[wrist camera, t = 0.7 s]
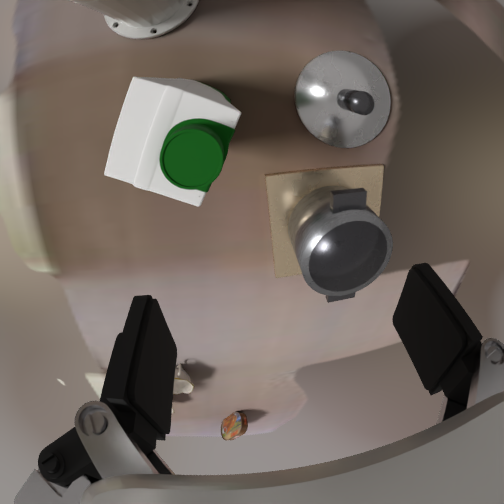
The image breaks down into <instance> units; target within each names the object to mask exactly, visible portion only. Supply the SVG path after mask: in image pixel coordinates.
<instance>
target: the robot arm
mask: <svg viewBox="0 0 504 504" xmlns="http://www.w3.org/2000/svg"><path fill="white" fill-rule="evenodd" d="M69 1H71V2H74V3H77V4H80V5H82V6H85V7H87V8H90V9H92V10H94V11H97V12H99V13H102V14H104V18H105V21H106V23H107V25H108V26H109V27H110V28H111V29H112V30H113V31H114V32H116V33H117V34H119V35H121V36H123V37H127V38H131V39H150V38H154V37H158V36H161V35H163V34H166V33H168V32H170V31H172V30H174V29H175V28H177V27H178V26H180V25H181V24H182V23H184V22H185V21H186V20H187V19H188V18H189V17H190V16H191V14H192V13H193V11H194V10H195V9H196V6H197V4H198V2H199V0H69ZM189 4H192V6H189ZM117 25H119V26H118V27H117ZM155 30H157V32H156V33H154V31H155ZM393 325H394V327H395V329H396V331H397V332H398V334H399V336H400V338H401V340H402V342H403V344H404V346H405V348H406V350H407V352H408V354H409V356H410V358H411V360H412V362H413V364H414V366H415V368H416V370H417V373H418V374H419V377H420V379H421V381H422V383H423V385H424V387H425V389H426V390H429V393H430V395H433V394H435V393H438V392H440V391H441V390H443V392H444V397H443V401H442V406H441V410H440V413H439V416H438V420H437V423H436V425H435V426H432V427H430V428H428V429H426V430H424V431H421V432H419V433H417V434H414V435H412V436H409V437H407V438H404V439H402V440H399V441H396V442H394V443H391V444H388V445H385V446H382V447H379V448H377V449H373V450H370V451H367V452H364V453H361V454H357V455H353V456H350V457H346V458H342V459H338V460H334V461H330V462H325V463H320V464H316V465H311V466H305V467H299V468H293V469H287V470H279V471H272V472H262V473H252V474H235V475H175V474H174V473H173V471H172V470H171V469H170V468H169V466H168V465H167V464H166V463H165V462H164V461H163V459H162V458H161V457H160V456H159V454H158V453H157V452H156V451H155V448H156V440H165V436H166V434H169V433H170V427H171V412H172V400H173V388H174V378H175V368H176V359H177V348H176V344H175V342H174V340H173V337H172V335H171V333H170V330H169V328H168V326H167V323H166V321H165V318H164V316H163V313H162V311H161V308H160V306H159V303H158V301H157V299H153V298H152V296H151V295H142V296H135V297H134V298H133V301H132V304H131V307H130V310H129V313H128V316H127V319H126V323H125V326H124V329H123V333H119V334H118V336H117V338H116V341H115V344H114V348H113V351H112V355H111V358H110V362H109V366H108V370H107V373H106V377H105V381H104V385H103V389H102V394H101V398H100V401H90V402H87V403H85V404H84V405H82V406H81V407H80V408H79V410H78V411H77V413H76V416H75V427H74V428H73V429H71V430H70V431H68V432H67V433H65V434H64V435H63V436H61V437H60V438H58V439H57V440H55V441H54V442H53V443H51V444H50V445H48V446H47V447H45V448H44V449H43V450H42V451H41V453H40V455H39V459H38V466H39V469H38V470H36V469H34V471H33V472H32V474H31V475H30V476H29V478H28V479H27V481H26V482H25V483H24V485H23V486H22V488H21V489H20V491H19V492H18V494H17V495H16V497H15V500H14V504H504V344H503V343H501V342H500V341H499V340H497V339H495V338H488V339H486V340H484V342H483V343H481V341H480V340H481V339H482V335H481V333H480V332H479V330H478V329H477V327H476V326H475V324H474V323H473V322H472V320H471V319H470V317H469V316H468V315H467V313H466V312H465V310H464V309H463V308H462V306H461V305H460V303H459V302H458V301H457V299H456V298H455V297H454V295H453V294H452V293H451V291H450V290H449V289H448V287H447V286H446V285H445V284H444V282H443V281H442V280H441V279H440V277H439V276H438V275H437V274H436V272H435V271H434V270H433V269H432V268H431V266H430V265H429V264H427V263H422V264H415V265H413V266H412V268H411V269H410V270H409V272H408V275H407V279H406V282H405V285H404V288H403V290H402V293H401V296H400V299H399V302H398V305H397V307H396V310H395V313H394V315H393Z"/></svg>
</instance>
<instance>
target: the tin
mask: <svg viewBox="0 0 504 504" xmlns="http://www.w3.org/2000/svg"><path fill="white" fill-rule="evenodd" d="M247 427H248V423H247V417H246V415H245V414H244V413H241V412H234V413H233V414H231V415H230V416H228V417H227V418H225V419H224V420H223V422H222V425H221V435H222V438H223V439H224V440H234V439H236V438H238V437H239V436H241V435H243V434H244V433H245V432H246V430H247Z"/></svg>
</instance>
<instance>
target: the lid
mask: <svg viewBox="0 0 504 504" xmlns="http://www.w3.org/2000/svg"><path fill="white" fill-rule="evenodd" d="M294 96H295V106H296V109H297V113H298V115H299V117H300V120H301V121H302V123H303V125H304V126H305V127H306V128H307V130H308V131H309V132H310V133H311V134H312V135H314V136H315V137H316V138H318V139H319V140H321V141H322V142H324V143H326V144H329V145H331V146H335V147H340V148H352V147H357V146H361V145H363V144H366V143H367V142H369V141H371V140H372V139H373V138H375V137H376V136H377V135H378V134H379V133H380V131H381V130H382V129H383V127H384V126H385V124H386V122H387V119H388V116H389V112H390V103H391V100H390V92H389V88H388V85H387V82H386V80H385V78H384V76H383V75H382V73H381V72H380V71H379V69H378V68H377V67H376V66H375V65H374V64H373V63H372V62H370V61H369V60H368V59H366V58H365V57H363V56H361V55H359V54H356V53H353V52H349V51H332V52H327V53H324V54H321V55H319V56H317V57H315V58H314V59H312V60H311V61H310V62H309V63H307V64H306V66H305V67H304V68H303V69H302V71H301V73H300V74H299V77H298V79H297V82H296V86H295V93H294Z"/></svg>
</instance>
